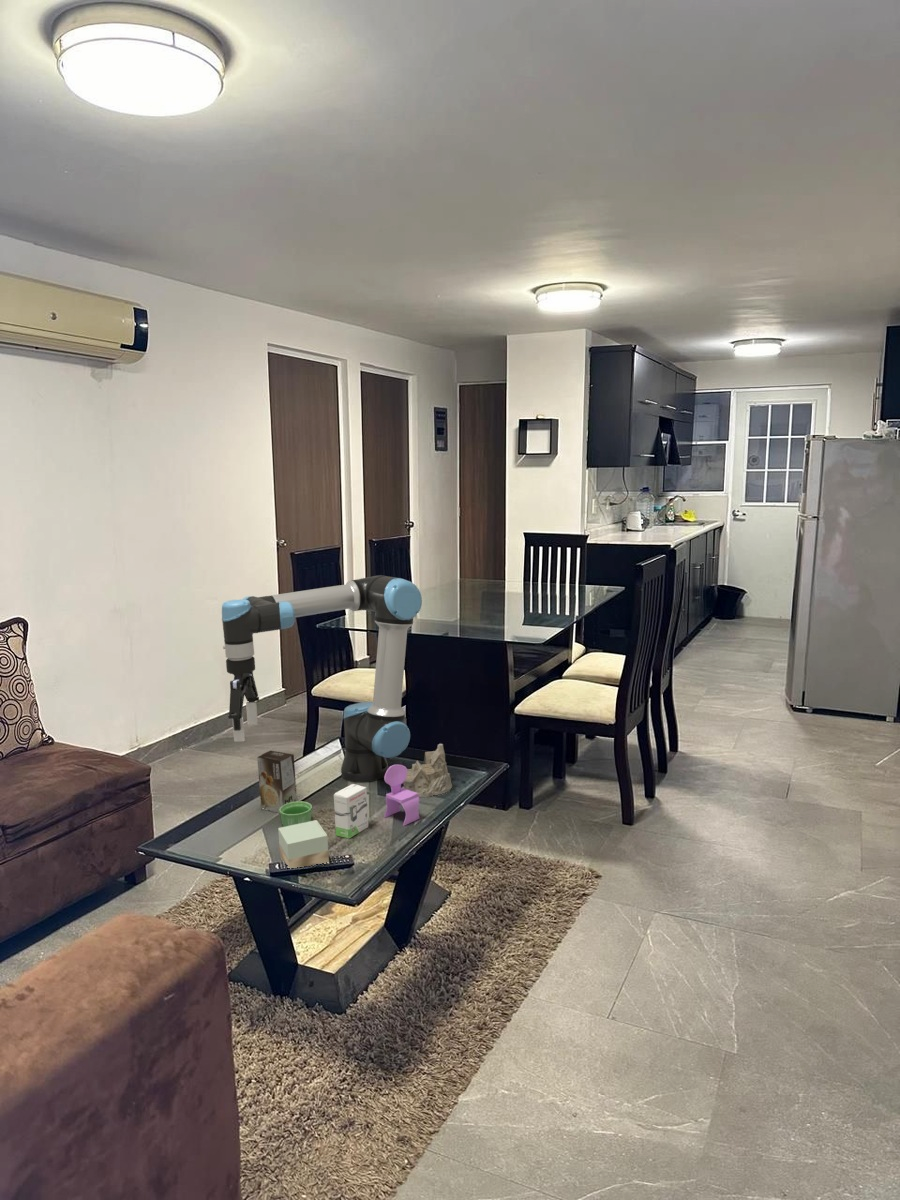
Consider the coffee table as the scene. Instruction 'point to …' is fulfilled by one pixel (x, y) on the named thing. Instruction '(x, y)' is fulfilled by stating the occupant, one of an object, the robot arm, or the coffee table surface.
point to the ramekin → (295, 813)
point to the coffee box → (276, 780)
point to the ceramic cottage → (429, 775)
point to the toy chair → (400, 795)
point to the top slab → (303, 839)
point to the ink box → (351, 810)
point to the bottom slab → (305, 859)
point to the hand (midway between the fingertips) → (246, 732)
